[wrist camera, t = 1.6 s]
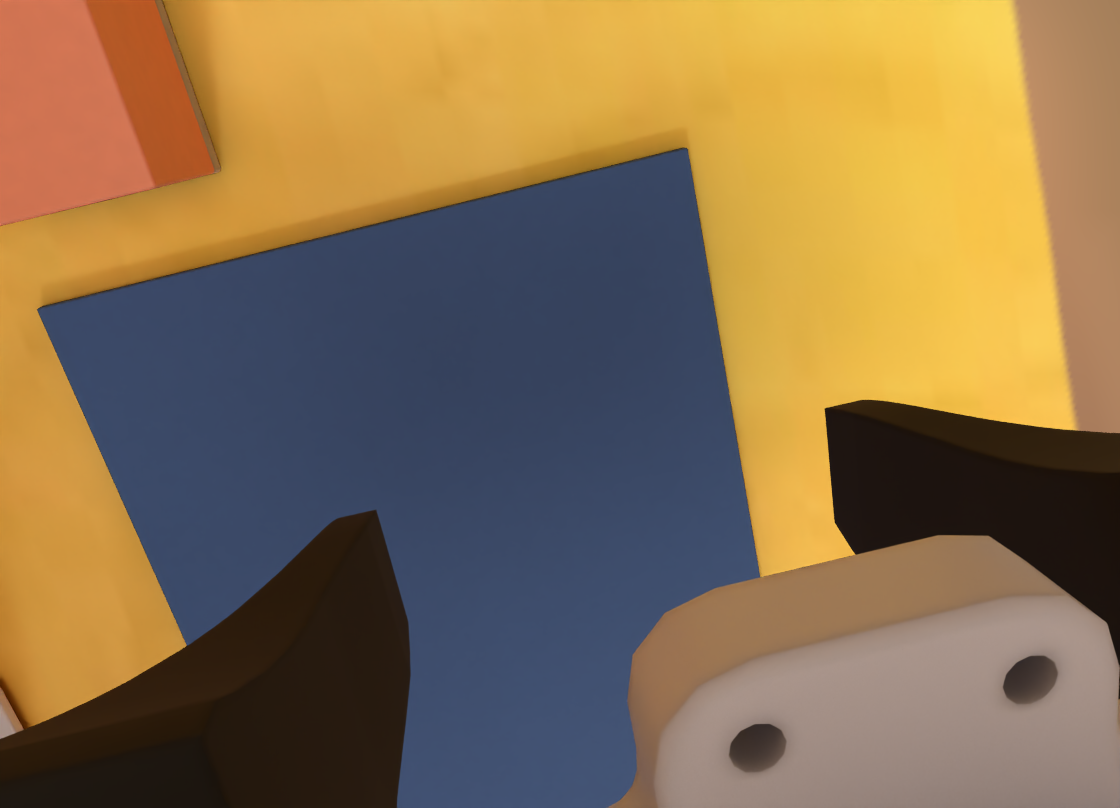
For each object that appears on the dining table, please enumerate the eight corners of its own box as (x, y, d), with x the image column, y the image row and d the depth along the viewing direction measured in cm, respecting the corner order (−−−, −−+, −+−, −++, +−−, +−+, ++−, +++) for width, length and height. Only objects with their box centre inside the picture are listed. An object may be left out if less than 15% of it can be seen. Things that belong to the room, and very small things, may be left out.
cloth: (309, 908, 27) (307, 917, 27) (41, 306, 21) (36, 308, 20) (790, 770, 28) (794, 777, 28) (684, 146, 21) (687, 147, 21)
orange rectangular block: (43, 214, 20) (-78, 244, 15) (-101, -125, 18) (-298, -212, 13) (222, 170, 20) (156, 187, 16) (102, -170, 18) (-18, -272, 13)
